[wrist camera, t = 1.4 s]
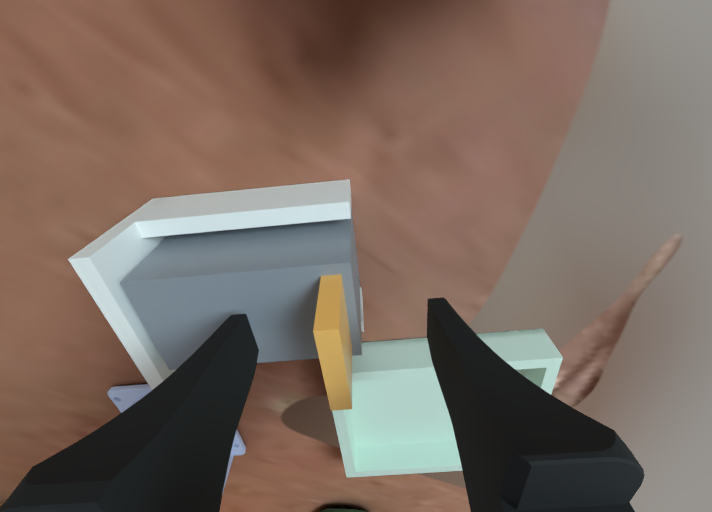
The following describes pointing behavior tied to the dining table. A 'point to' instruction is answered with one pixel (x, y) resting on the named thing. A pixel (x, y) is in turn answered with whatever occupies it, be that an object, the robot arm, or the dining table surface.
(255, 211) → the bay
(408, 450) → the tray
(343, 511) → the character mug
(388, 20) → the dining table surface
